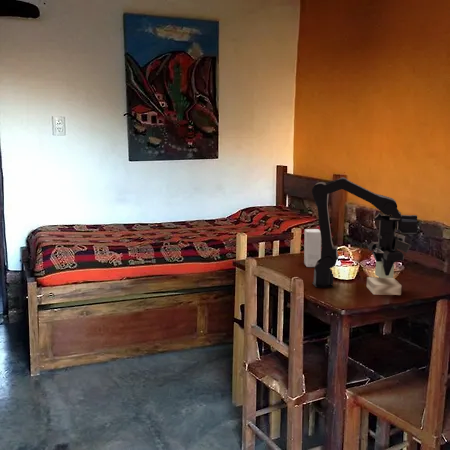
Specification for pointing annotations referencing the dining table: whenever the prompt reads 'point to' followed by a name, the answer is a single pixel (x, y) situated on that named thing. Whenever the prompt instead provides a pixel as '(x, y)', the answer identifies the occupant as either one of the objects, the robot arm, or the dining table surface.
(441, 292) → the dining table surface
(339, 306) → the dining table surface
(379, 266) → the sage green cube
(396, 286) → the pale ash block
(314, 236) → the skincare box
